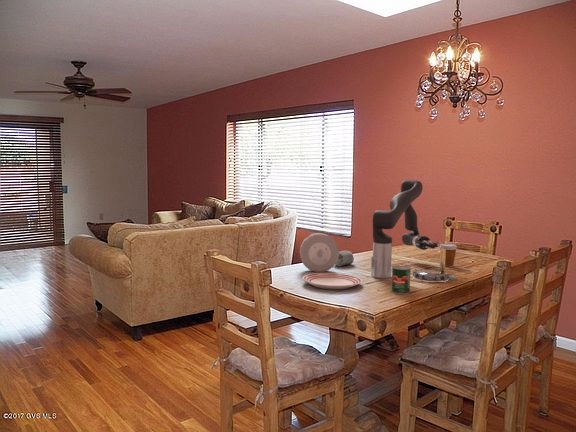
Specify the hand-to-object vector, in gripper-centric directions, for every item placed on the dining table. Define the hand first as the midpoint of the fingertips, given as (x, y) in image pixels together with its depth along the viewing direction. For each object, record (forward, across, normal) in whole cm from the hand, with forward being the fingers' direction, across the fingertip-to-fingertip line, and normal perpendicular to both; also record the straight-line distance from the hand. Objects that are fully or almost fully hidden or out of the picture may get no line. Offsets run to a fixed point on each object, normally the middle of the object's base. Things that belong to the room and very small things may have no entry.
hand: (433, 246), depth 240 cm
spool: (-22, -43, +15) cm, 50 cm away
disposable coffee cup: (-19, +16, +14) cm, 29 cm away
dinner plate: (+22, -56, +16) cm, 63 cm away
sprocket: (+12, -6, +14) cm, 20 cm away
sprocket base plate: (+12, -6, +14) cm, 20 cm away
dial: (-6, -58, +15) cm, 61 cm away
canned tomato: (+36, -28, +16) cm, 48 cm away
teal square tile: (+12, +5, +14) cm, 19 cm away
